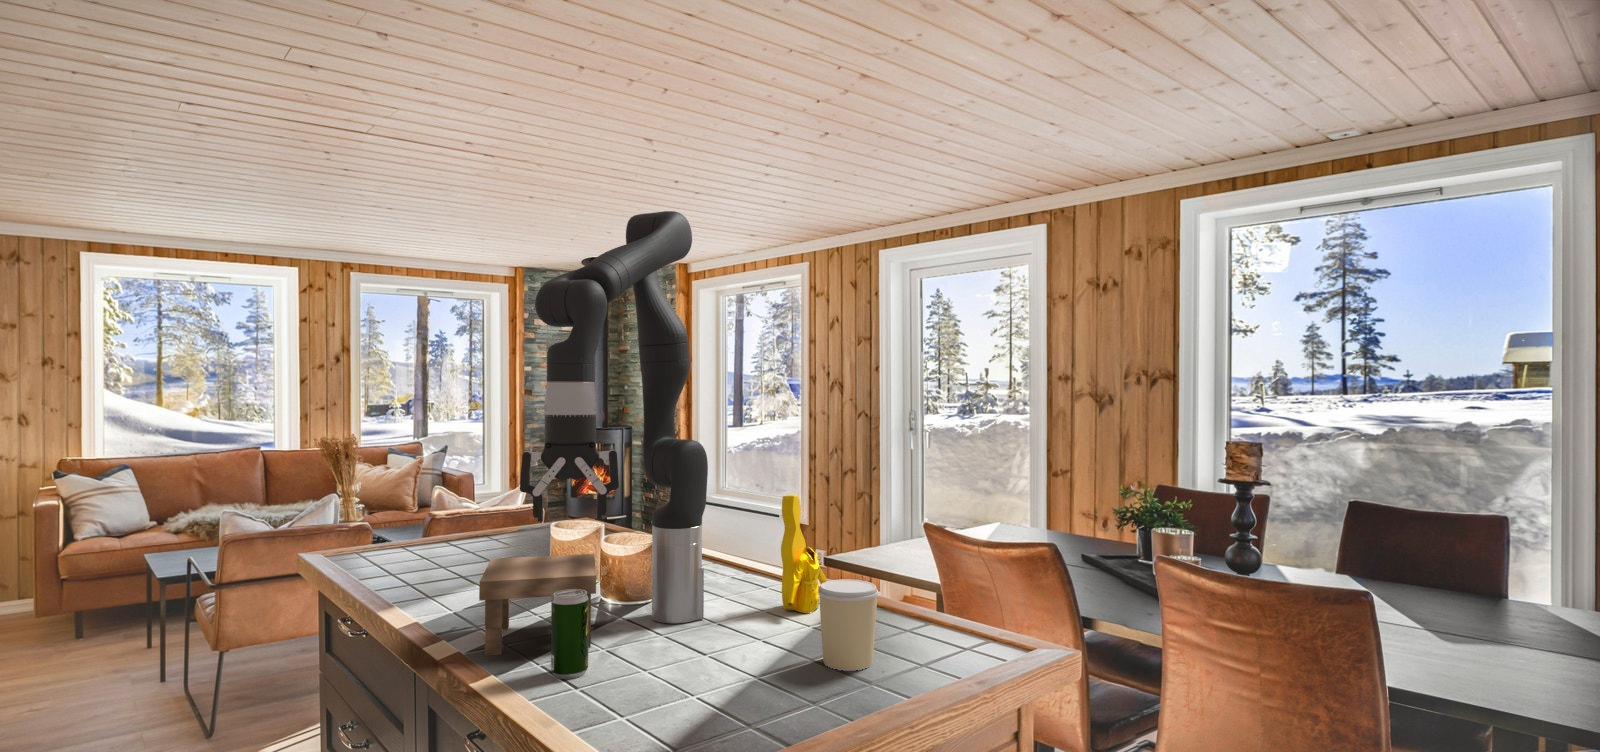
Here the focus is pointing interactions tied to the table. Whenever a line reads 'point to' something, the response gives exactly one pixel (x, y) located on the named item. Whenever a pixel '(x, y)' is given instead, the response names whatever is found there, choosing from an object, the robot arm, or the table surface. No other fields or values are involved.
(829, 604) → the coffee cup
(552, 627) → the beer can
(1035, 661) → the table surface
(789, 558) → the yellow raincoat figure
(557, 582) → the walnut stool
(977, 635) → the table surface
